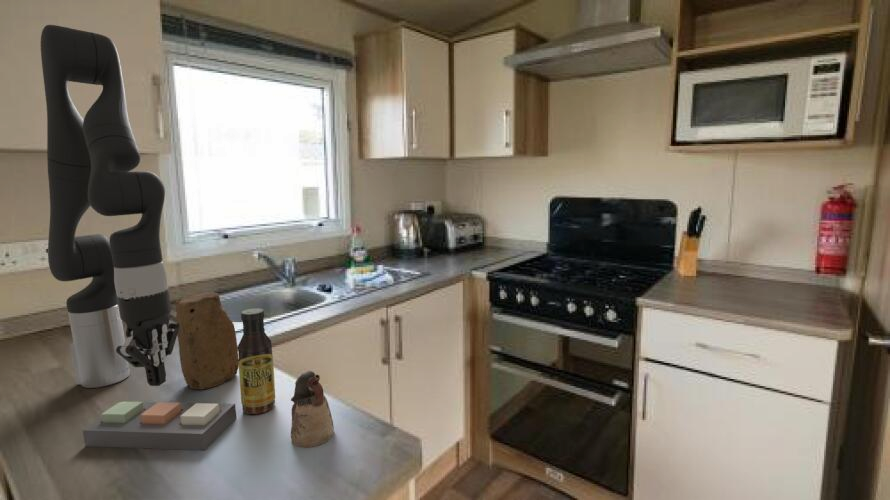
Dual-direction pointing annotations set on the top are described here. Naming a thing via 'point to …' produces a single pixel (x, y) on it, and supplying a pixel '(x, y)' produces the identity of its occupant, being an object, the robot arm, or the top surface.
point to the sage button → (122, 412)
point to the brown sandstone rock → (206, 341)
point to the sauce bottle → (255, 364)
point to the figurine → (310, 412)
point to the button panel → (160, 431)
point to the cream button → (200, 414)
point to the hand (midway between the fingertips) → (157, 384)
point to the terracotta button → (161, 413)
